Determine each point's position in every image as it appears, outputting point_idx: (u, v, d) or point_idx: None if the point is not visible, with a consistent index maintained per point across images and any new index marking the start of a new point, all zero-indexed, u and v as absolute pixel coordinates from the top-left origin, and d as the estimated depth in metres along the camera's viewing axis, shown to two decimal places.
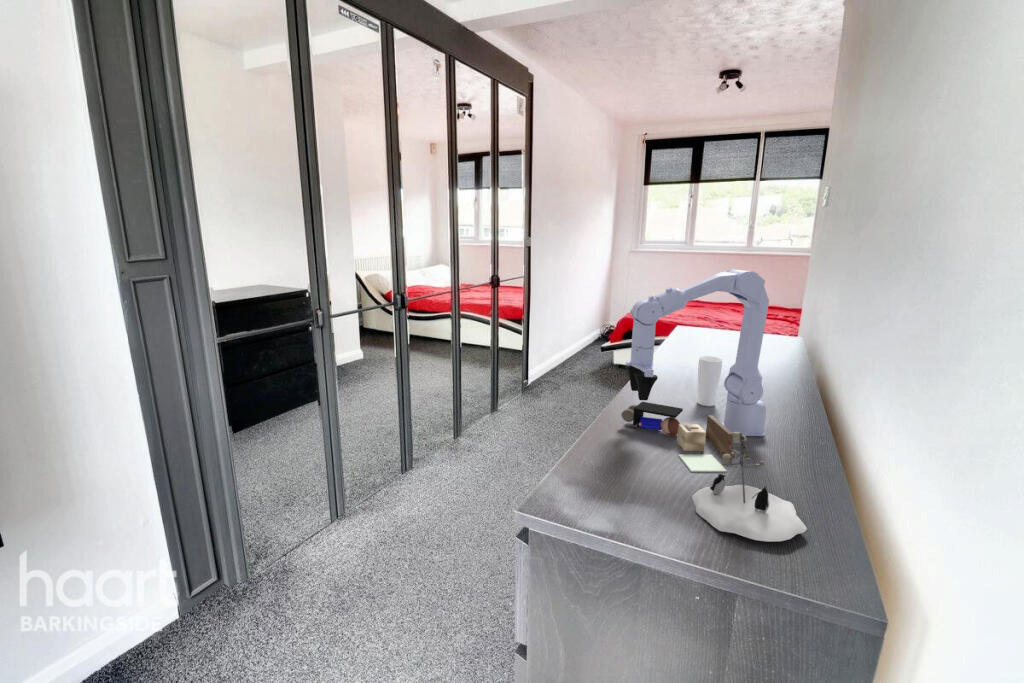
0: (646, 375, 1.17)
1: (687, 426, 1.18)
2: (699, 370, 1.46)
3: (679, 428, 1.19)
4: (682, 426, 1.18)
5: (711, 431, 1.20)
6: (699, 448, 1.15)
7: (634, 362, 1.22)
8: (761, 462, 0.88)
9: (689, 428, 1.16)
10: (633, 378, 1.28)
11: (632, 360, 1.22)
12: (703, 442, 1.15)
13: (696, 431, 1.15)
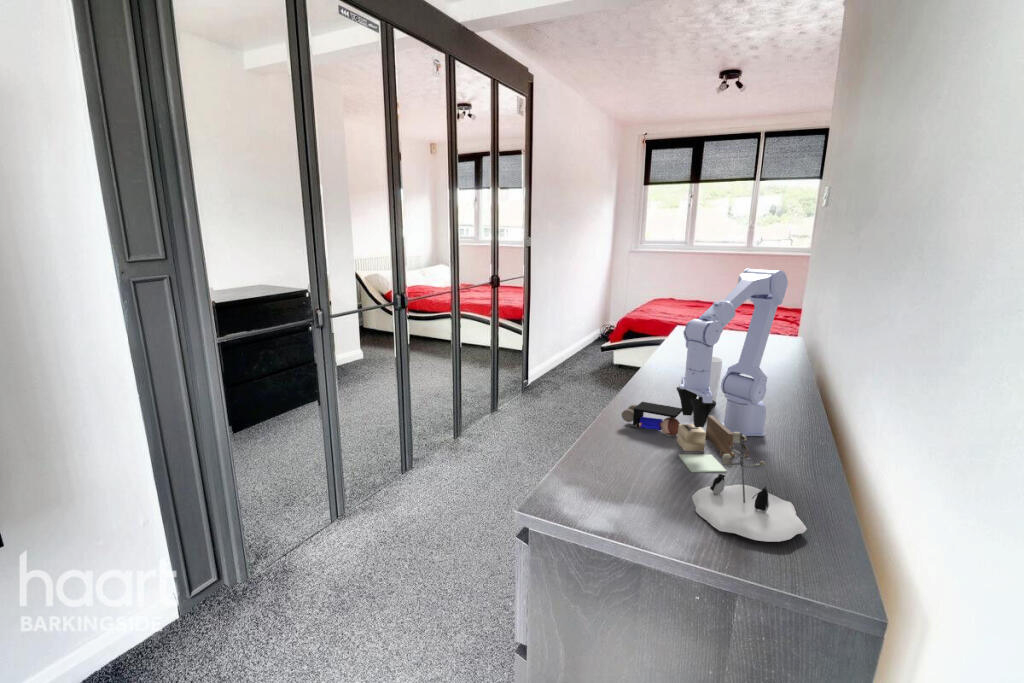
0: (705, 401, 1.08)
1: (687, 426, 1.18)
2: None
3: (679, 429, 1.19)
4: (682, 426, 1.18)
5: (711, 431, 1.20)
6: (699, 448, 1.15)
7: (689, 386, 1.13)
8: (761, 462, 0.88)
9: (689, 428, 1.16)
10: (685, 402, 1.19)
11: (687, 383, 1.13)
12: (703, 442, 1.15)
13: (696, 431, 1.15)
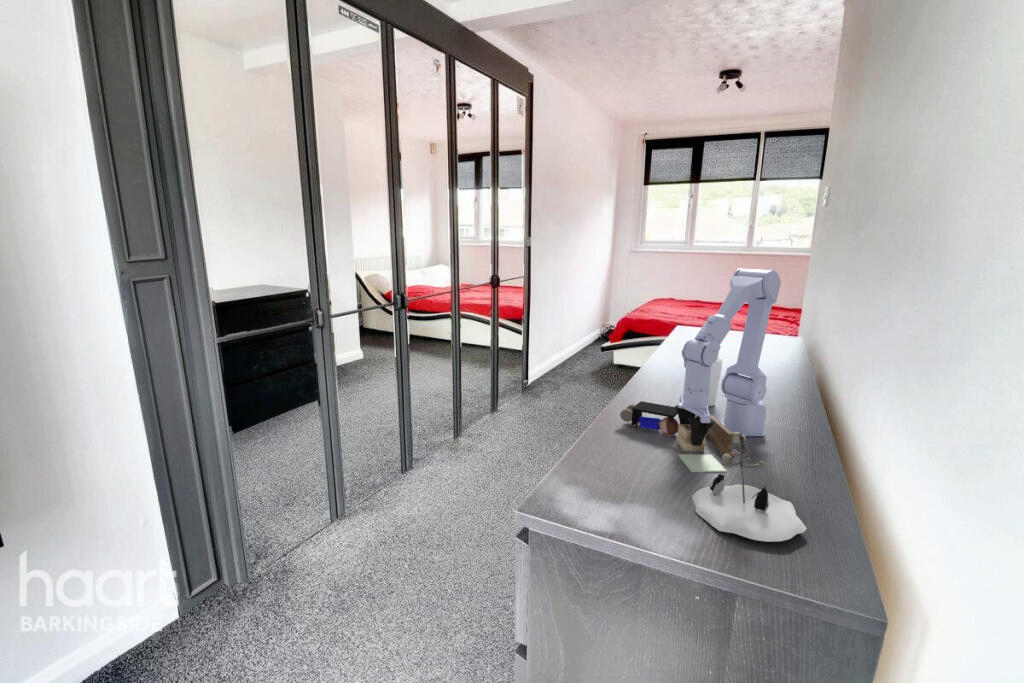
0: (703, 421, 1.09)
1: (687, 426, 1.18)
2: None
3: (679, 429, 1.19)
4: (682, 426, 1.18)
5: (711, 431, 1.20)
6: (699, 448, 1.15)
7: (687, 405, 1.14)
8: (761, 462, 0.88)
9: (689, 428, 1.16)
10: (684, 420, 1.20)
11: (685, 403, 1.14)
12: (703, 442, 1.15)
13: None
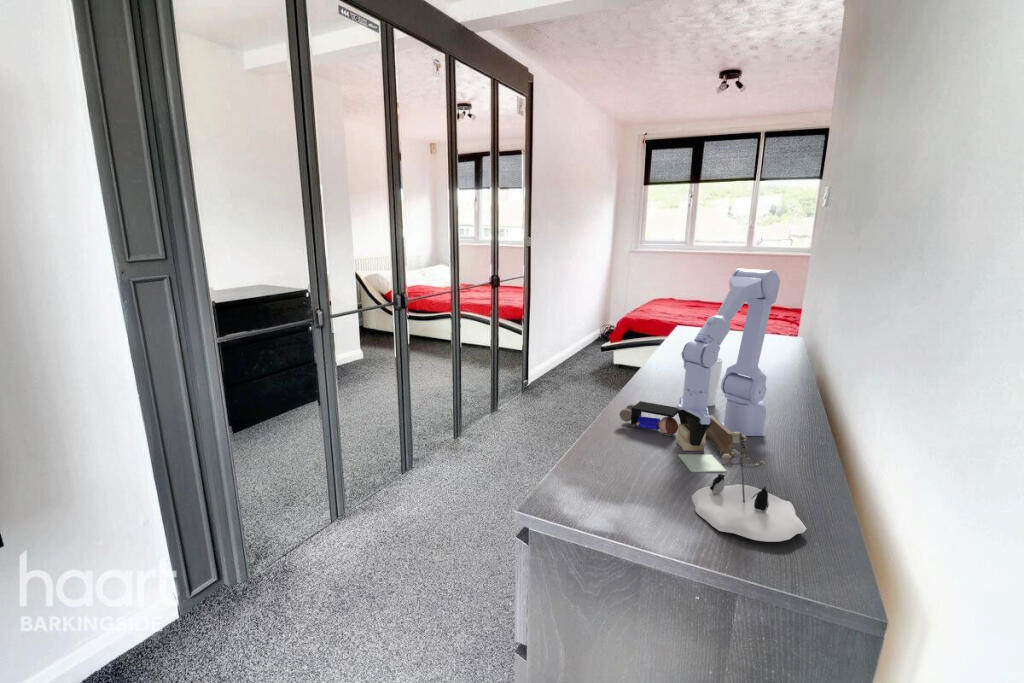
0: (702, 422, 1.09)
1: (687, 426, 1.18)
2: None
3: (679, 428, 1.19)
4: (682, 426, 1.18)
5: (711, 431, 1.20)
6: (699, 448, 1.15)
7: (687, 406, 1.14)
8: (761, 462, 0.88)
9: None
10: (685, 423, 1.19)
11: (685, 404, 1.15)
12: (703, 442, 1.15)
13: None
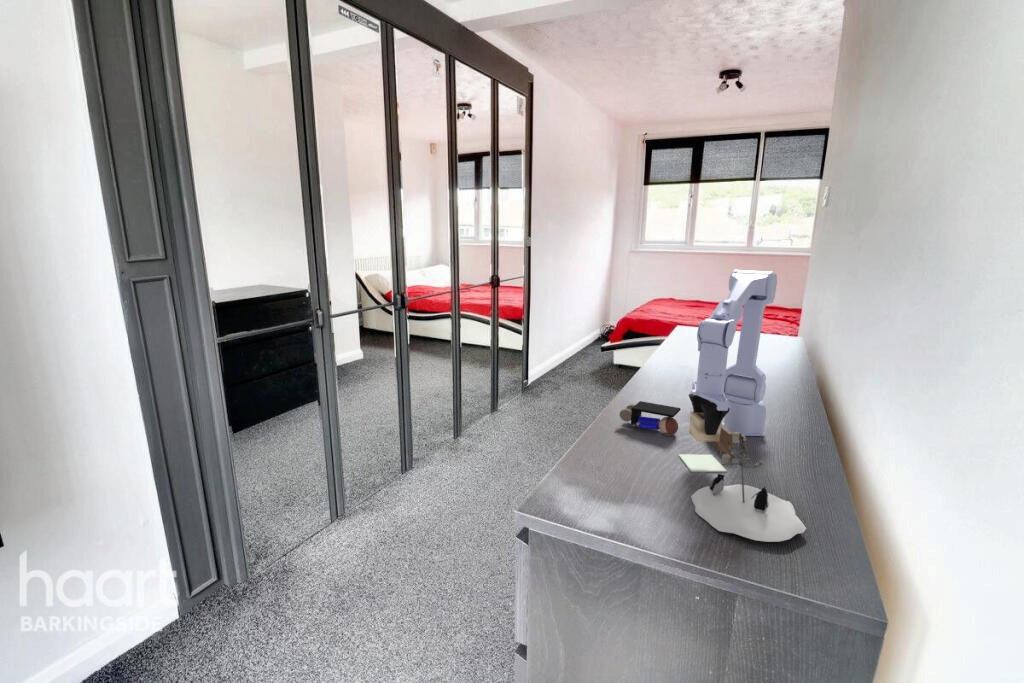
0: (720, 409, 0.98)
1: (700, 414, 1.07)
2: None
3: (691, 417, 1.08)
4: (695, 415, 1.07)
5: None
6: (714, 438, 1.05)
7: (702, 392, 1.03)
8: (760, 462, 0.88)
9: (703, 416, 1.06)
10: (698, 410, 1.09)
11: (699, 389, 1.04)
12: (718, 432, 1.04)
13: None
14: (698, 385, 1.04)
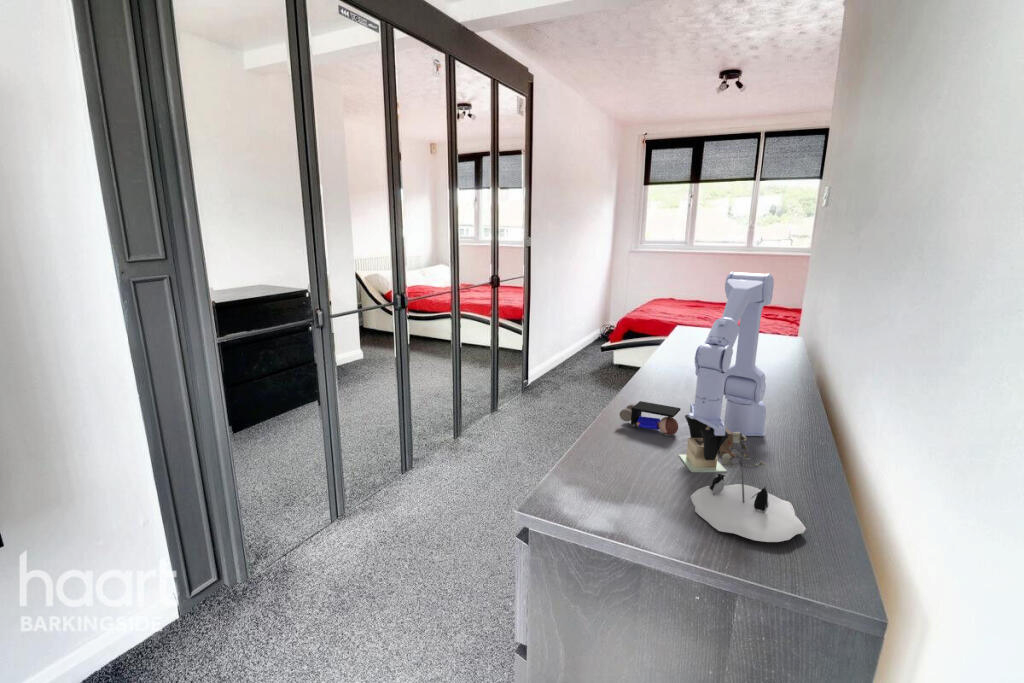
0: (717, 433, 0.99)
1: (697, 440, 1.08)
2: None
3: (688, 443, 1.09)
4: (692, 440, 1.08)
5: None
6: (711, 464, 1.06)
7: (699, 415, 1.04)
8: (761, 462, 0.88)
9: (700, 442, 1.07)
10: (694, 431, 1.11)
11: (696, 413, 1.05)
12: (715, 458, 1.06)
13: None
14: (696, 409, 1.05)
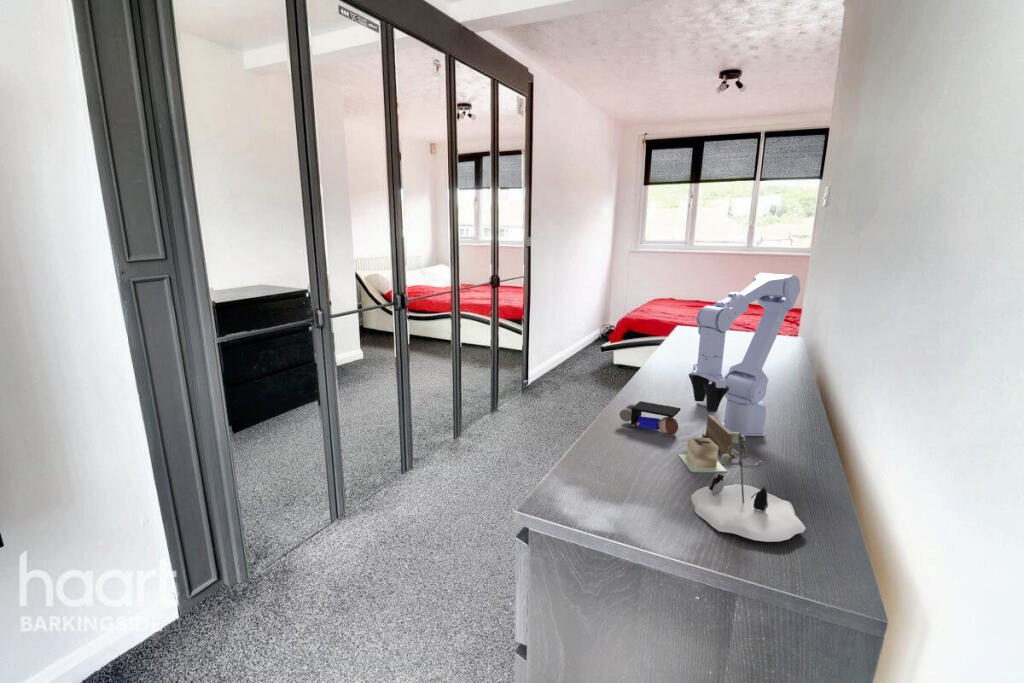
0: (718, 386, 1.09)
1: (697, 440, 1.08)
2: None
3: (688, 443, 1.09)
4: (692, 440, 1.08)
5: (711, 431, 1.20)
6: (711, 464, 1.06)
7: (702, 372, 1.15)
8: (760, 462, 0.88)
9: (700, 442, 1.07)
10: (697, 388, 1.21)
11: (699, 369, 1.15)
12: (715, 458, 1.06)
13: (707, 446, 1.05)
14: (699, 366, 1.16)
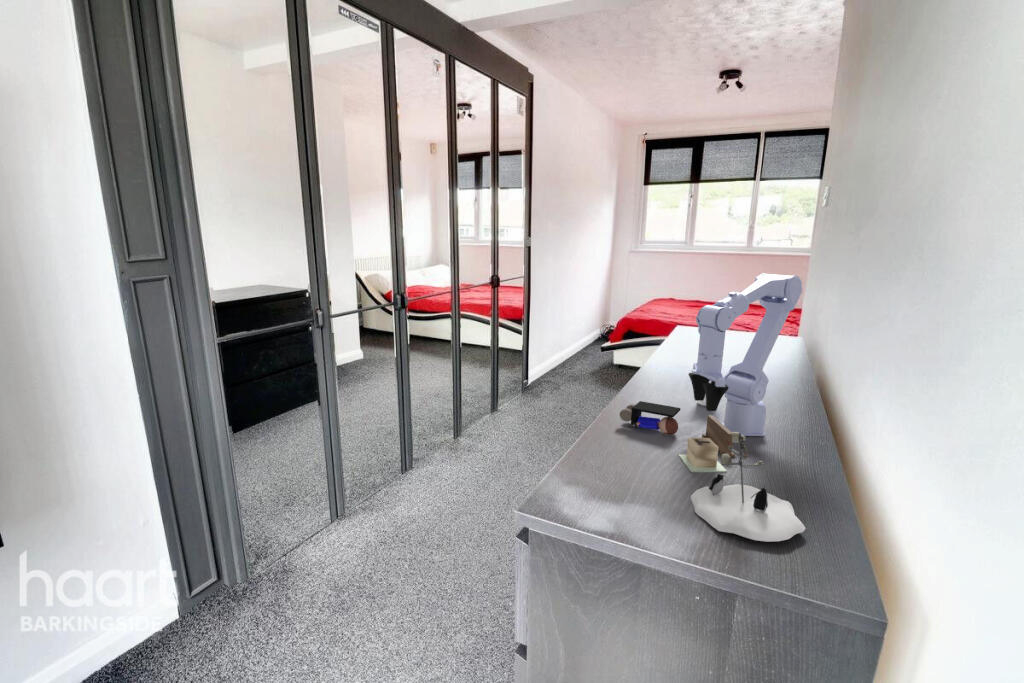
0: (718, 385, 1.10)
1: (697, 440, 1.08)
2: None
3: (688, 443, 1.09)
4: (692, 440, 1.08)
5: (711, 431, 1.20)
6: (711, 464, 1.06)
7: (702, 371, 1.15)
8: (760, 462, 0.88)
9: (700, 442, 1.07)
10: (697, 387, 1.22)
11: (699, 368, 1.16)
12: (715, 458, 1.06)
13: (707, 446, 1.05)
14: (698, 365, 1.16)
